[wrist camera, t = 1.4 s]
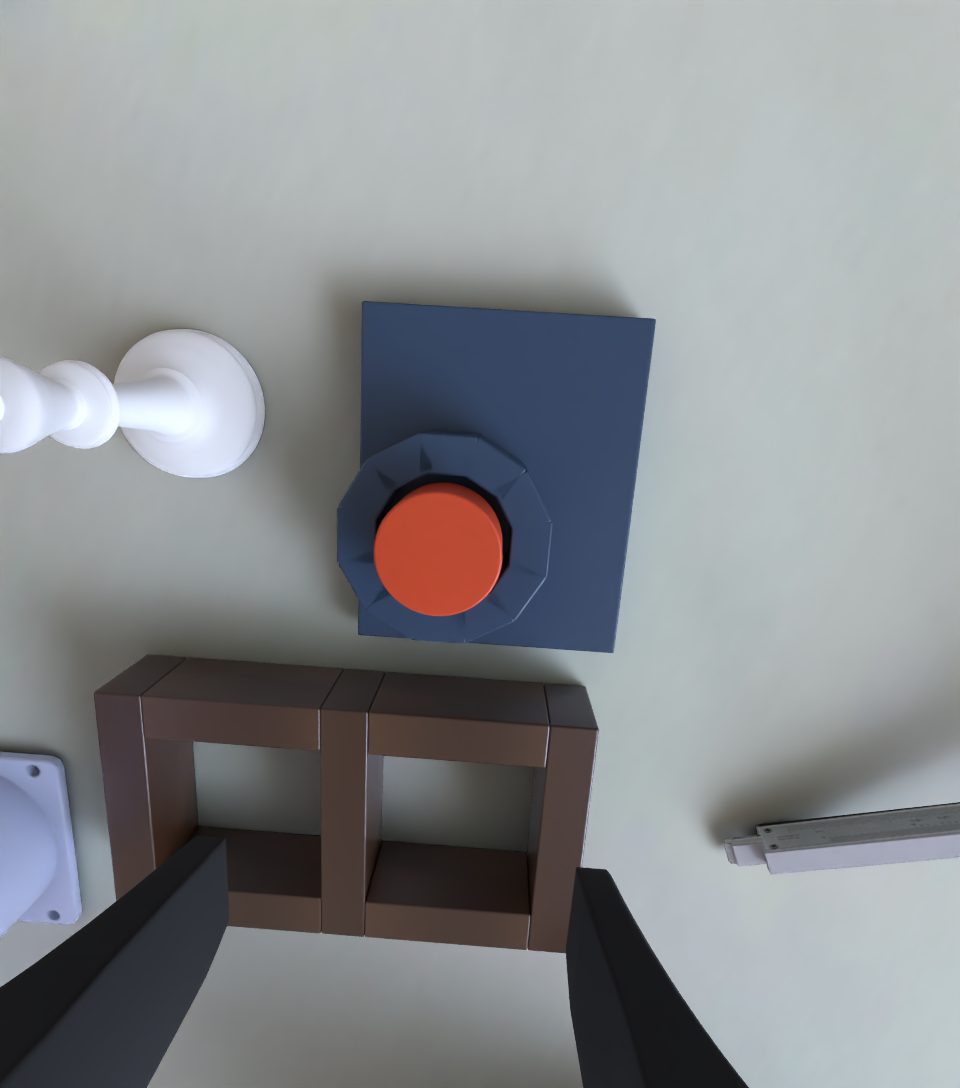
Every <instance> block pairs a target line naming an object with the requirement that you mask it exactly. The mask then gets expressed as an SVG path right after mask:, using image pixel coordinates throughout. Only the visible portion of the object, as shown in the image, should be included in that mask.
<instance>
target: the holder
mask: <svg viewBox="0 0 960 1088" xmlns="http://www.w3.org/2000/svg"><path fill="white" fill-rule="evenodd" d="M94 700H95V709H96V718H97V727H98V737H99V746H100V755H101V764H102V773H103V782H104V792H105V801H106V810H107V819H108V828H109V837H110V847H111V856H112V865H113V874H114V883H115V893H116V901H117V900H119V899H120V898H121V897H122V896H124V895H125V894H126V893H127V892H129V891H130V890H131V889H132V888H133V887H135V886H136V885H137V884H138V883H140V882H141V881H142V880H143V879H144V878H146V877H147V876H148V875H149V874H150V873H152V872H153V871H154V870H155V869H156V868H158V867H159V866H160V865H161V864H163V863H164V862H165V861H166V860H167V859H169V858H170V857H171V856H172V855H173V854H175V853H176V852H177V851H178V850H180V849H181V848H182V847H183V846H185V845H186V844H187V843H188V842H190V841H191V840H192V839H193V838H194V837H196V836H205V837H217V838H226V855H227V877H228V900H229V922H228V924H227V926H234V927H247V928H259V929H271V930H284V931H296V932H308V933H321V931H322V933H323V934H335V935H347V936H359V937H363V936H364V935H365V937H373V938H385V939H397V940H410V941H422V942H434V943H446V944H459V945H471V946H483V947H496V948H508V949H520V950H527V948H528V950H533V951H545V952H557V953H566V942H567V935H568V927H569V919H570V911H571V904H572V896H573V888H574V880H575V873H576V867H581V868H582V861H583V853H584V845H585V837H586V829H587V821H588V813H589V805H590V797H591V789H592V781H593V773H594V765H595V757H596V749H597V741H598V733H599V729H598V726H597V723H596V720H595V716H594V713H593V710H592V706H591V703H590V700H589V697H588V693H587V690H586V687H584V686H572V685H558V684H544V685H543V684H542V683H531V682H517V681H504V680H490V679H476V678H462V677H449V676H435V675H421V674H407V673H393V672H386V674H385V672H381V671H367V670H353V669H344V670H343V669H340V668H326V667H312V666H298V665H284V664H271V663H257V662H243V661H229V660H216V659H202V658H185V657H172V656H158V655H146V656H145V657H143V658H142V659H140V660H139V661H138V662H136V663H135V664H133V665H132V666H130V667H129V668H128V669H126V670H125V671H123V672H122V673H121V674H119V675H118V676H116V677H115V678H113V679H112V680H111V681H109V682H108V683H106V684H105V685H103V686H102V687H101V688H99V689H98V690H96V691H95V692H94ZM193 741H195V742H209V743H222V744H235V745H249V746H262V747H275V748H288V749H302V750H315V751H319V750H320V749H321V836H311V835H298V834H285V833H273V832H260V831H247V830H234V829H221V828H209V827H199V828H198V816H197V800H196V785H195V769H194V754H193ZM383 756H396V757H409V758H422V759H436V760H449V761H462V762H476V763H489V764H502V765H515V766H529V767H536V768H535V779H534V789H533V799H532V809H531V820H530V830H529V840H528V851H527V853H525V852H513V851H500V850H488V849H475V848H462V847H449V846H436V845H424V844H411V843H398V842H385V841H383V842H382V843H381V831H382V791H383Z"/></svg>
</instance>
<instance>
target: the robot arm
mask: <svg viewBox="0 0 960 1088" xmlns="http://www.w3.org/2000/svg"><path fill="white" fill-rule="evenodd" d="M35 766H36V767H37V768H38V769H39V770H38V769H37V768H36V767H35ZM81 914H82V903H81V895H80V887H79V879H78V871H77V863H76V855H75V847H74V840H73V832H72V824H71V816H70V808H69V800H68V792H67V784H66V777H65V769H64V765H63V762H62V761H61V760H60V759H59V758H57V757H54V756H50V755H37V754H24V753H11V752H0V938H1V937H2V936H3V935H4V934H5V933H6V932H7V931H8V930H9V929H10V928H11V927H12V925H13V924H14V923H15V922H16V921H26V922H38V923H50V924H62V925H70V924H73V923H75V922H76V921H77V919H78V918H79V917H80V916H81ZM228 922H229V900H228V877H227V855H226V838H217V837H205V836H196V837H194V838H193V839H192V840H191V841H190V842H188V843H187V844H186V845H185V846H183V847H182V848H181V849H180V850H178V851H177V852H176V853H175V854H173V855H172V856H171V857H170V858H169V859H167V860H166V861H165V862H164V863H163V864H161V865H160V866H159V867H158V868H156V869H155V870H154V871H153V872H152V873H150V874H149V875H148V876H147V877H146V878H144V879H143V880H142V881H141V882H140V883H138V884H137V885H136V886H135V887H133V888H132V889H131V890H130V891H129V892H127V893H126V894H125V895H124V896H122V897H121V898H120V899H119V900H117V901H116V902H115V903H114V904H112V905H111V906H110V907H109V908H107V909H106V910H105V911H104V912H102V913H101V914H100V915H99V916H97V917H96V918H95V919H94V920H92V921H91V922H90V923H88V924H87V925H86V926H84V927H83V928H82V929H80V930H79V931H78V932H76V933H75V934H74V935H72V936H71V937H70V938H68V939H67V940H66V941H64V942H63V943H62V944H60V945H59V946H58V947H56V948H55V949H54V950H52V951H51V952H50V953H48V954H47V955H46V956H44V957H43V958H42V959H40V960H39V961H38V962H36V963H35V964H33V965H32V966H31V967H29V968H28V969H26V970H25V971H23V972H22V973H21V974H19V975H18V976H16V977H15V978H13V979H12V980H10V981H9V982H7V983H6V984H5V985H3V986H2V987H0V1088H147V1086H148V1084H149V1082H150V1081H151V1079H152V1077H153V1075H154V1073H155V1071H156V1069H157V1068H158V1066H159V1064H160V1062H161V1060H162V1058H163V1056H164V1055H165V1053H166V1051H167V1049H168V1047H169V1045H170V1043H171V1042H172V1040H173V1038H174V1036H175V1034H176V1032H177V1030H178V1029H179V1027H180V1025H181V1023H182V1021H183V1019H184V1017H185V1015H186V1014H187V1012H188V1010H189V1008H190V1006H191V1004H192V1002H193V1000H194V999H195V997H196V995H197V993H198V991H199V989H200V987H201V985H202V983H203V981H204V979H205V978H206V975H207V973H208V971H209V968H210V966H211V964H212V961H213V959H214V957H215V954H216V952H217V949H218V947H219V944H220V942H221V939H222V937H223V934H224V932H225V929H226V927H227V924H228ZM566 959H567V973H568V987H569V999H570V1010H571V1016H572V1022H573V1028H574V1034H575V1040H576V1046H577V1052H578V1058H579V1064H580V1070H581V1076H582V1082H583V1088H749V1087H748V1086H747V1085H746V1084H745V1082H744V1081H743V1080H742V1078H741V1077H740V1076H739V1075H738V1073H737V1072H736V1071H735V1069H734V1068H733V1067H732V1066H731V1064H730V1063H729V1062H728V1060H727V1059H726V1058H725V1057H724V1055H723V1054H722V1053H721V1051H720V1050H719V1049H718V1047H717V1046H716V1044H715V1043H714V1042H713V1040H712V1039H711V1038H710V1036H709V1035H708V1033H707V1032H706V1031H705V1029H704V1028H703V1027H702V1025H701V1024H700V1022H699V1021H698V1019H697V1018H696V1016H695V1015H694V1014H693V1012H692V1011H691V1009H690V1008H689V1006H688V1005H687V1003H686V1002H685V1000H684V999H683V998H682V996H681V994H680V993H679V991H678V990H677V988H676V987H675V985H674V984H673V982H672V981H671V979H670V978H669V976H668V974H667V973H666V971H665V970H664V968H663V966H662V965H661V963H660V962H659V960H658V958H657V957H656V955H655V954H654V952H653V950H652V949H651V947H650V945H649V944H648V942H647V940H646V939H645V937H644V935H643V934H642V932H641V930H640V928H639V927H638V925H637V923H636V921H635V920H634V918H633V916H632V914H631V912H630V911H629V909H628V907H627V905H626V903H625V901H624V900H623V898H622V896H621V894H620V892H619V890H618V888H617V886H616V884H615V882H614V880H613V878H612V876H611V875H610V873H609V872H608V871H607V870H605V869H593V868H581V867H576V873H575V880H574V888H573V896H572V904H571V911H570V919H569V927H568V935H567V942H566Z"/></svg>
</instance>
